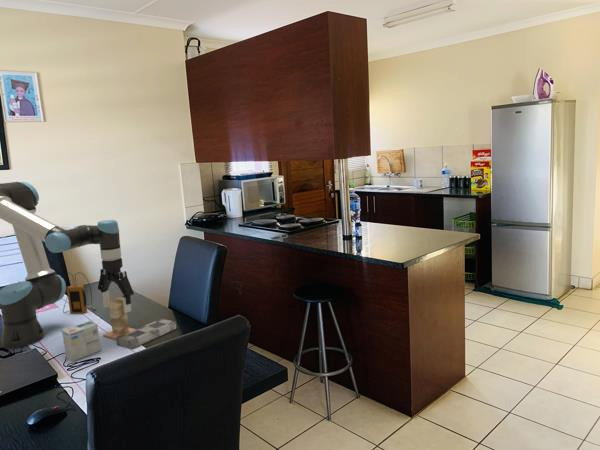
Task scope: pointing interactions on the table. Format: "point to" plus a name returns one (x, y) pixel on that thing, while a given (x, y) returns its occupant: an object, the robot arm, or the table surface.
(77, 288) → the multimeter
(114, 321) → the peg
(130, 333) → the rail
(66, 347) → the light bulb box
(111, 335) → the pad
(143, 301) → the table surface
